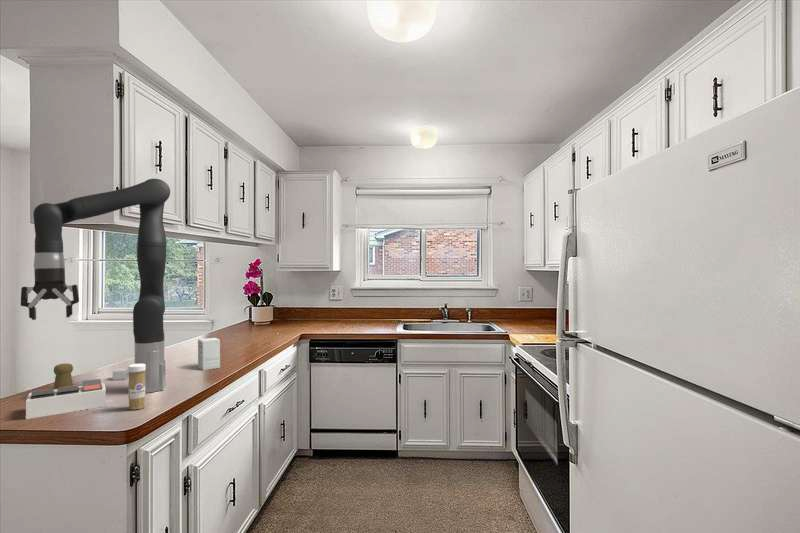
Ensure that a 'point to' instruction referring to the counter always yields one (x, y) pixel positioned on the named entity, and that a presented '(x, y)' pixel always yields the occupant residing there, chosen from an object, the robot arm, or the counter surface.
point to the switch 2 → (91, 385)
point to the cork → (63, 375)
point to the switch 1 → (43, 392)
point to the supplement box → (208, 353)
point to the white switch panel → (64, 402)
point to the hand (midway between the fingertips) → (51, 318)
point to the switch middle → (67, 389)
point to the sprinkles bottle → (136, 386)
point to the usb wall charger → (120, 374)
